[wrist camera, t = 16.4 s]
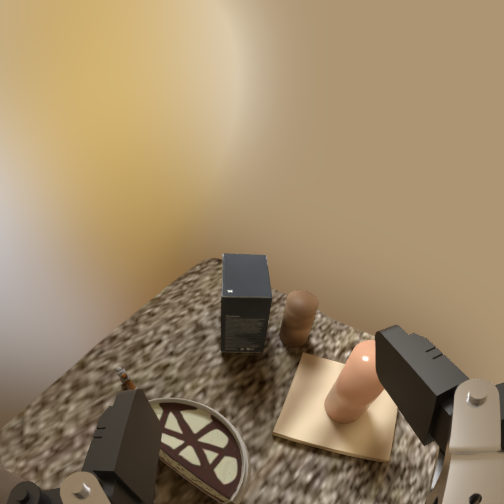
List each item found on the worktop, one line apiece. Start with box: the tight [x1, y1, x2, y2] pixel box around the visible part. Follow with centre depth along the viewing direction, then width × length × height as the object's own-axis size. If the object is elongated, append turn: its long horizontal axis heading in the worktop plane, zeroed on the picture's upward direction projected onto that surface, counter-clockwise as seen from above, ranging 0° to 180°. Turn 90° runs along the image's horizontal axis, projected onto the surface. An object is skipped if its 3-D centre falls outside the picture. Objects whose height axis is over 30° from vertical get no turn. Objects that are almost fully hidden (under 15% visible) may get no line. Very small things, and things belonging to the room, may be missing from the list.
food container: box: [149, 398, 251, 504], centre depth 24 cm, size 12×6×10 cm, turn 56°
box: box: [221, 254, 272, 353], centre depth 39 cm, size 8×6×11 cm
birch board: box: [272, 352, 398, 463], centre depth 33 cm, size 14×12×1 cm
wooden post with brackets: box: [116, 367, 138, 390], centre depth 31 cm, size 2×8×4 cm, turn 48°
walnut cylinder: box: [279, 290, 318, 347], centre depth 40 cm, size 4×4×7 cm
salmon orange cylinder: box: [324, 340, 384, 424], centre depth 29 cm, size 5×5×10 cm
